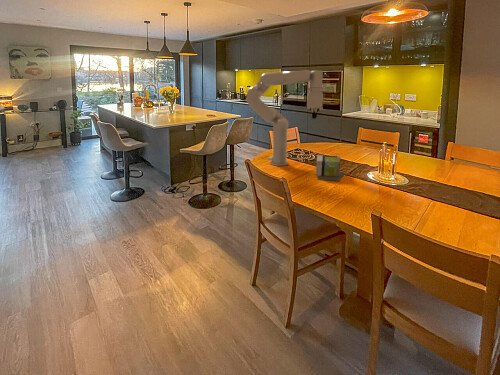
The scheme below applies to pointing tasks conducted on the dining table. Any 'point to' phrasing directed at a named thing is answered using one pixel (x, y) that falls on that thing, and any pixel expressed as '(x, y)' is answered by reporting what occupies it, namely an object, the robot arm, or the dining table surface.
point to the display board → (332, 177)
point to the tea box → (328, 165)
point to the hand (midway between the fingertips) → (314, 118)
